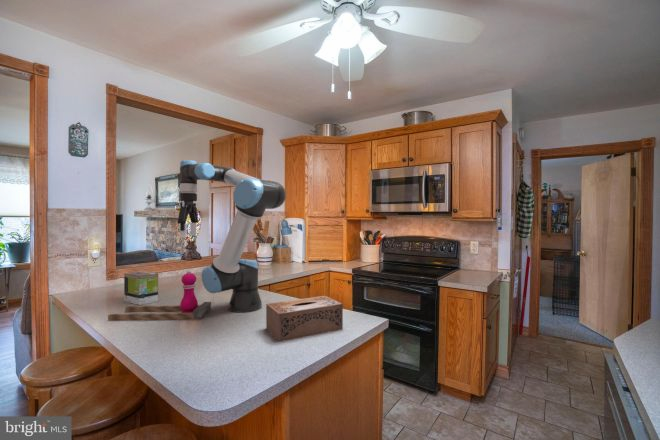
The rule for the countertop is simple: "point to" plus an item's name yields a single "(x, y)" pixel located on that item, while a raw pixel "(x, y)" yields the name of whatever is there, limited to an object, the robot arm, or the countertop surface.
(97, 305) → the countertop surface
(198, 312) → the guide track
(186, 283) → the pepper mill
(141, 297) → the tea box
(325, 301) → the tissue box cover
